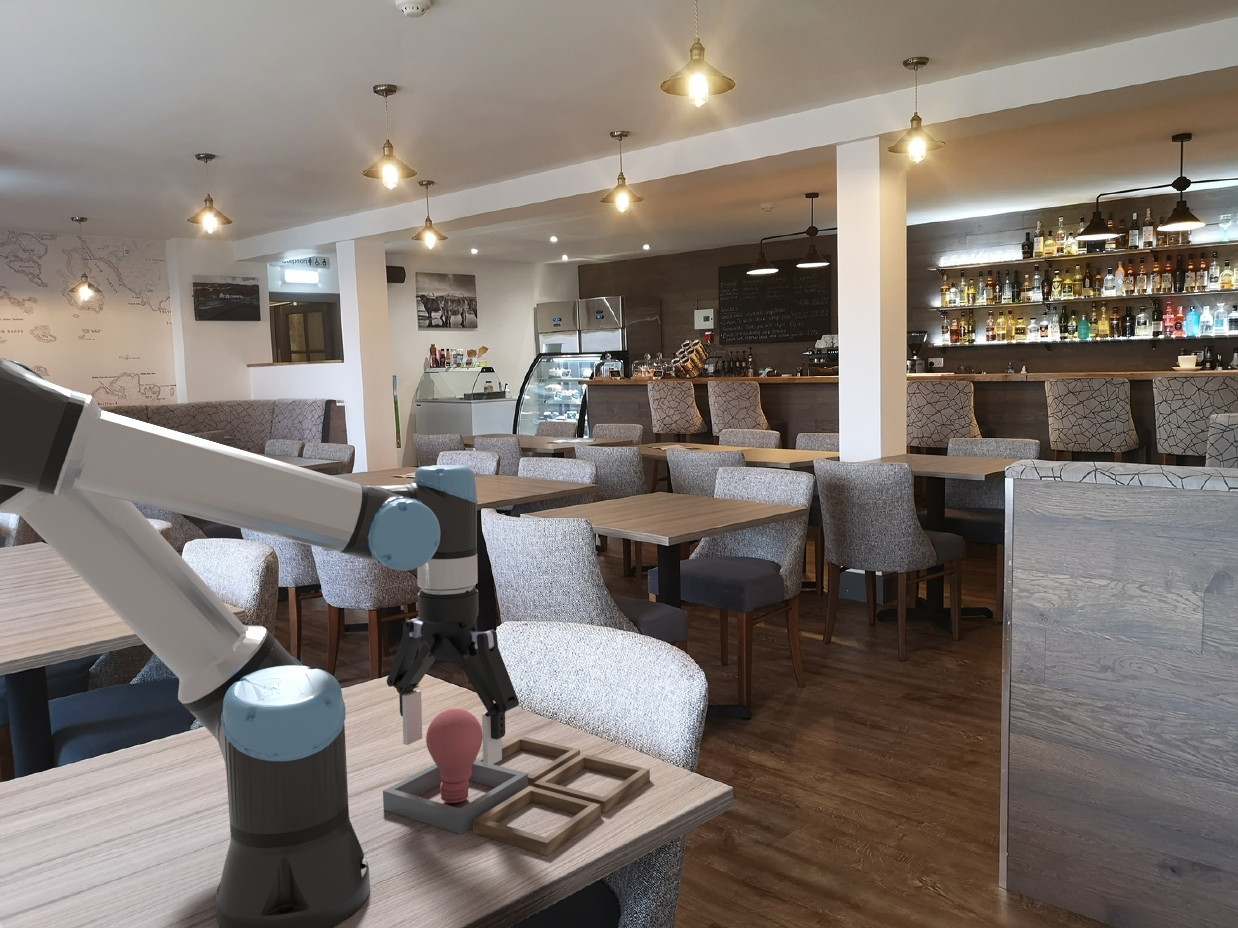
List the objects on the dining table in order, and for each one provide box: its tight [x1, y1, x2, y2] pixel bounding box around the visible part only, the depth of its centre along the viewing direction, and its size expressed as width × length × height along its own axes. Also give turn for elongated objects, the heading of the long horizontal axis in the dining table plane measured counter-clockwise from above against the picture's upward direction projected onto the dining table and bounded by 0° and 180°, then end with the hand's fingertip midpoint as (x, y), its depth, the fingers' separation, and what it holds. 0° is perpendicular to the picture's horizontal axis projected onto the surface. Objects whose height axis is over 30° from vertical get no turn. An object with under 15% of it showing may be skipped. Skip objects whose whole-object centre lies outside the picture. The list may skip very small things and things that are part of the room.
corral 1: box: [382, 761, 528, 835], centre depth 119 cm, size 13×13×2 cm
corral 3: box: [472, 786, 602, 856], centre depth 112 cm, size 11×11×2 cm
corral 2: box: [475, 735, 581, 787], centre depth 130 cm, size 11×11×2 cm
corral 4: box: [534, 753, 651, 814], centre depth 123 cm, size 11×11×2 cm
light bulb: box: [425, 708, 483, 804], centre depth 119 cm, size 7×7×12 cm
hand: (451, 751), depth 119 cm, fingers open, 13 cm apart
